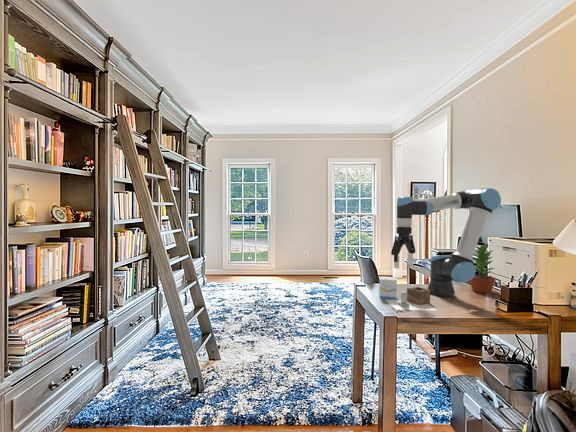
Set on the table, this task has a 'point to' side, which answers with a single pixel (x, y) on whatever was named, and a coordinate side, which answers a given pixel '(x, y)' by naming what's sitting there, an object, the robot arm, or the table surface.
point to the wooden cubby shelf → (418, 295)
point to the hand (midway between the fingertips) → (403, 266)
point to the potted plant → (482, 272)
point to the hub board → (407, 304)
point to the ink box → (388, 288)
